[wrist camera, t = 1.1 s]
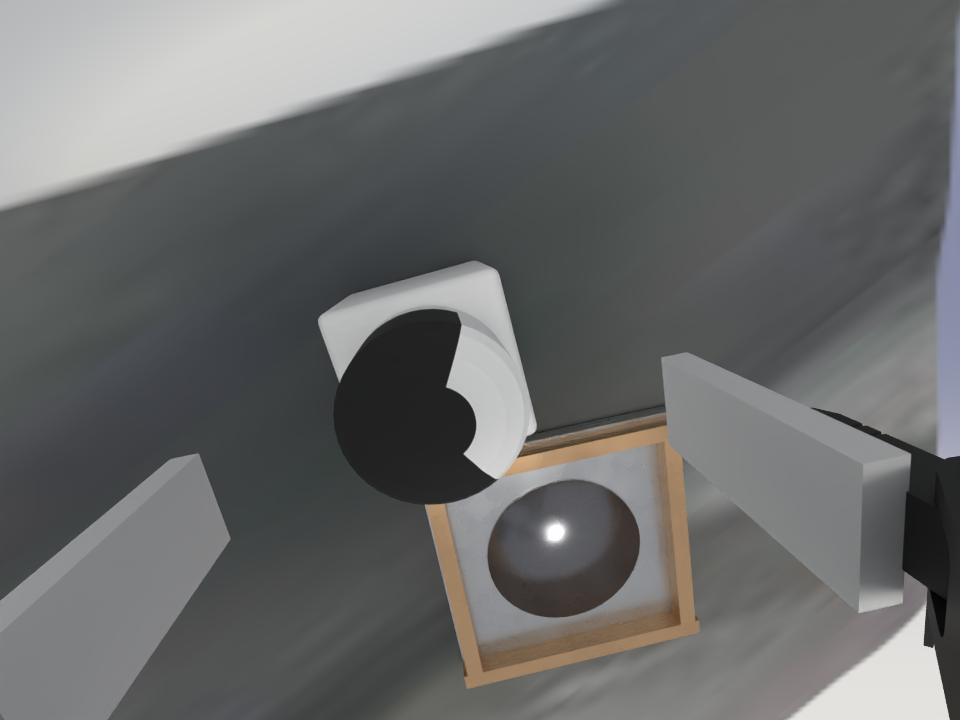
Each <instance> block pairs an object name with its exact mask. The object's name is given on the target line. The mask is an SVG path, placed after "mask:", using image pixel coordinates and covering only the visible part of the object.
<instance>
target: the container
mask: <svg viewBox="0 0 960 720" xmlns="http://www.w3.org/2000/svg"><path fill="white" fill-rule="evenodd" d="M318 324H319V328H320V330H321V333H322V336H323V339H324V341H325V344H326V347H327V350H328V352H329V355H330V358H331V361H332V364H333V366H334V369H335V372H336V375H337V377H338V380H339V386H338V388H337V392H336V397H335V402H334V425H335V431H336V435H337V439H338V442H339V445H340V447H341V450H342V452H343V454H344V456H345V457H346V459H347V461H348V462H349V464H350V465H351V467H352V468H353V469H354V470H355V471H356V473H357V474H358V475H359V476H360V477H361V478H362V479H364V480H365V481H366V482H367V483H368V484H369V485H371V486H372V487H374V488H375V489H377V490H378V491H380V492H382V493H384V494H386V495H388V496H390V497H393V498H395V499H398V500H401V501H405V502H410V503H414V504H425V505H435V504H446V503H452V502H456V501H459V500H463V499H466V498H469V497H471V496H473V495H475V494H478V493H479V492H481V491H483V490H485V489H486V488H488V487H489V486H491V485H492V484H493V483H495V482H496V481H497V480H498V479H500V478H501V476H502V475H503V474H504V473H505V472H506V471H507V470H508V469H509V468H510V467H511V465H512V464H513V463H514V461H515V460H516V458H517V456H518V454H519V453H520V451H521V449H522V447H523V444H524V441H525V439H526V436H529V435H531V434H533V433H534V432H535V431H536V425H537V424H536V420H535V416H534V412H533V408H532V404H531V400H530V396H529V392H528V388H527V384H526V380H525V376H524V372H523V368H522V364H521V360H520V356H519V352H518V348H517V344H516V340H515V336H514V332H513V328H512V324H511V320H510V316H509V312H508V308H507V304H506V300H505V296H504V292H503V288H502V284H501V280H500V276H499V274H498V272H497V270H495V269H494V268H492V267H490V266H487V265H485V264H483V263H481V262H478V261H470V262H466V263H463V264H459V265H456V266H452V267H448V268H445V269H441V270H438V271H434V272H430V273H427V274H423V275H419V276H416V277H412V278H409V279H405V280H401V281H398V282H394V283H391V284H387V285H383V286H380V287H376V288H372V289H369V290H365V291H362V292H358V293H354V294H351V295H350V296H348V297H346V298H345V299H344V300H342V301H341V302H339V303H338V304H336V305H335V306H334V307H332V308H331V309H329V310H328V311H326V312H325V313H323V314H322V315H321V316H320V317H319V319H318Z"/></svg>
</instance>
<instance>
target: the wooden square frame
mask: <svg viewBox="0 0 960 720" xmlns="http://www.w3.org/2000/svg"><path fill="white" fill-rule="evenodd" d="M425 508H426V512H427V516H428V520H429V524H430V528H431V532H432V536H433V540H434V544H435V549H436V553H437V557H438V561H439V565H440V569H441V573H442V577H443V581H444V585H445V589H446V594H447V598H448V602H449V606H450V610H451V614H452V618H453V622H454V626H455V630H456V634H457V639H458V643H459V647H460V651H461V655H462V659H463V667H464V678H465V682H466V686H467V689H469V688H473V687H477V686H481V685H485V684H489V683H494V682H498V681H502V680H506V679H510V678H514V677H518V676H522V675H526V674H531V673H535V672H539V671H543V670H547V669H551V668H555V667H559V666H563V665H568V664H572V663H576V662H580V661H584V660H588V659H592V658H596V657H600V656H605V655H609V654H613V653H617V652H621V651H625V650H629V649H633V648H638V647H642V646H646V645H650V644H654V643H658V642H662V641H666V640H670V639H675V638H679V637H683V636H687V635H691V634H695V633H699V632H700V627H699V620H698V618H697V617H696V615H695V611H694V598H693V586H692V574H691V562H690V549H689V537H688V525H687V513H686V500H685V488H684V476H683V464H682V456H681V455H680V454H679V453H677V452H676V451H675V450H674V449H673V448H672V447H671V446H669V439H668V428H667V416H666V406H665V405H664V406H659V407H655V408H650V409H646V410H641V411H636V412H632V413H627V414H623V415H618V416H613V417H609V418H604V419H599V420H595V421H590V422H586V423H581V424H576V425H572V426H567V427H562V428H558V429H553V430H549V431H544V432H539V433H535V434H531V435H529V436H526V439H525V441H524V444H523V447H522V449H521V451H520V453H519V454H518V456H517V458H516V460H515V461H514V463H513V464H512V465H511V467H510V468H509V469H508V470H507V471H506V472H505V473H504V474H503V475H502V476H501V478H500V479H498V480H497V481H496V482H495V483H493V484H492V485H491V486H489V487H488V488H486V489H485V490H483V491H481V492H479V493H478V494H475V495H473V496H471V497H469V498H466V499H463V500H459V501H456V502H452V503H446V504H435V505H425Z"/></svg>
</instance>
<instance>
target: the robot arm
mask: <svg viewBox="0 0 960 720" xmlns="http://www.w3.org/2000/svg"><path fill="white" fill-rule="evenodd" d="M661 360H662V371H663V383H664V394H665V405H666V416H667V428H668V439H669V446H671V447H672V448H673V449H674V450H675V451H676V452H677V453H679V454H680V455H681V456H682V457H683V458H684V459H685V460H686V461H688V462H689V463H690V464H691V465H692V466H693V467H694V468H695V469H697V470H698V471H699V472H700V473H701V474H702V475H703V476H704V477H706V478H707V479H708V480H709V481H710V482H711V483H712V484H713V485H715V486H716V487H717V488H718V489H719V490H720V491H721V492H722V493H724V494H725V495H726V496H727V497H728V498H729V499H730V500H732V501H733V502H734V503H735V504H736V505H737V506H738V507H739V508H741V509H742V510H743V511H744V512H745V513H746V514H747V515H748V516H750V517H751V518H752V519H753V520H754V521H755V522H756V523H757V524H759V525H760V526H761V527H762V528H763V529H764V530H765V531H766V532H768V533H769V534H770V535H771V536H772V537H773V538H774V539H776V540H777V541H778V542H779V543H780V544H781V545H782V546H783V547H785V548H786V549H787V550H788V551H789V552H790V553H791V554H792V555H794V556H795V557H796V558H797V559H798V560H799V561H800V562H801V563H803V564H804V565H805V566H806V567H807V568H808V569H809V570H810V571H812V572H813V573H814V574H815V575H816V576H817V577H818V578H820V579H821V580H822V581H823V582H824V583H825V584H826V585H827V586H829V587H830V588H831V589H832V590H833V591H834V592H835V593H836V594H838V595H839V596H840V597H841V598H842V599H843V600H844V601H845V602H847V603H848V604H849V605H850V606H851V607H852V608H853V609H854V610H856V611H857V612H858V613H862V612H867V611H871V610H875V609H880V608H884V607H888V606H892V605H897V604H901V603H903V587H904V571H905V572H907V573H908V574H909V575H911V576H912V577H914V578H915V579H916V580H918V581H919V582H921V583H922V584H923V585H925V586H926V587H928V592H927V606H926V620H925V634H924V646H928V647H931V648H933V646H935V651H936V656H937V660H938V665H939V670H940V675H941V680H942V684H943V689H944V694H945V699H946V703H947V708H948V713H949V718H950V720H960V456H957V457H950V458H947V459H942V458H940V457H938V456H935V455H933V454H931V453H928V452H926V451H924V450H922V449H919V448H917V447H915V446H912V445H910V444H908V443H905V442H903V441H901V440H899V439H896V438H894V437H892V436H889V435H887V434H883V435H882V434H881V432H880V431H878V430H876V429H873V428H871V427H869V426H863V425H862V423H859V422H857V421H855V420H853V419H850V418H848V417H846V416H843V415H841V414H838V413H834V412H829V411H825V410H820V409H816V408H809V407H807V406H805V405H802V404H800V403H798V402H796V401H794V400H791V399H789V398H787V397H785V396H782V395H780V394H778V393H776V392H774V391H771V390H769V389H767V388H765V387H763V386H760V385H758V384H756V383H754V382H752V381H749V380H747V379H745V378H743V377H741V376H738V375H736V374H734V373H732V372H730V371H727V370H725V369H723V368H721V367H719V366H716V365H714V364H712V363H710V362H707V361H705V360H703V359H701V358H699V357H696V356H694V355H692V354H690V353H688V352H686V353H681V354H677V355H672V356H667V357H662V358H661ZM229 541H230V536H229V533H228V531H227V528H226V525H225V523H224V520H223V517H222V515H221V512H220V509H219V507H218V504H217V501H216V498H215V496H214V493H213V490H212V488H211V485H210V482H209V480H208V477H207V474H206V472H205V469H204V466H203V464H202V461H201V458H200V456H199V453H198V454H193V455H188V456H183V457H178V458H173V459H170V460H169V461H168V462H166V463H165V464H164V465H163V466H162V467H160V468H159V469H158V470H157V471H156V472H154V473H153V474H152V475H151V476H150V477H148V478H147V479H146V480H145V481H144V482H142V483H141V484H140V485H139V486H138V487H136V488H135V489H134V490H133V491H132V492H130V493H129V494H128V495H127V496H126V497H124V498H123V499H122V500H121V501H120V502H118V503H117V504H116V505H115V506H113V507H112V508H111V509H110V510H109V511H107V512H106V513H105V514H104V515H103V516H101V517H100V518H99V519H98V520H97V521H95V522H94V523H93V524H92V525H91V526H89V527H88V528H87V529H86V530H85V531H83V532H82V533H81V534H80V535H79V536H77V537H76V538H75V539H74V540H73V541H71V542H70V543H69V544H68V545H67V546H65V547H64V548H63V549H62V550H61V551H59V552H58V553H57V554H56V555H55V556H53V557H52V558H51V559H50V560H49V561H47V562H46V563H45V564H44V565H43V566H41V567H40V568H39V569H38V570H37V571H35V572H34V573H33V574H32V575H31V576H29V577H28V578H27V579H26V580H25V581H23V582H22V583H21V584H20V585H19V586H17V587H16V588H15V589H14V590H13V591H11V592H10V593H9V594H8V595H7V596H5V597H4V598H3V599H2V600H1V601H0V720H108V718H109V717H110V715H111V714H112V712H113V711H114V709H115V708H116V707H117V705H118V704H119V702H120V701H121V699H122V698H123V696H124V695H125V693H126V692H127V690H128V689H129V687H130V686H131V685H132V683H133V682H134V680H135V679H136V677H137V676H138V674H139V673H140V671H141V670H142V668H143V667H144V665H145V664H146V663H147V661H148V660H149V658H150V657H151V655H152V654H153V652H154V651H155V649H156V648H157V646H158V645H159V643H160V642H161V641H162V639H163V638H164V636H165V635H166V633H167V632H168V630H169V629H170V627H171V626H172V624H173V623H174V621H175V620H176V619H177V617H178V616H179V614H180V613H181V611H182V610H183V608H184V607H185V605H186V604H187V602H188V601H189V599H190V598H191V597H192V595H193V594H194V592H195V591H196V589H197V588H198V586H199V585H200V583H201V582H202V580H203V579H204V577H205V576H206V575H207V573H208V572H209V570H210V569H211V567H212V566H213V564H214V563H215V561H216V560H217V558H218V557H219V555H220V554H221V553H222V551H223V550H224V548H225V547H226V545H227V544H228V542H229Z"/></svg>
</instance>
